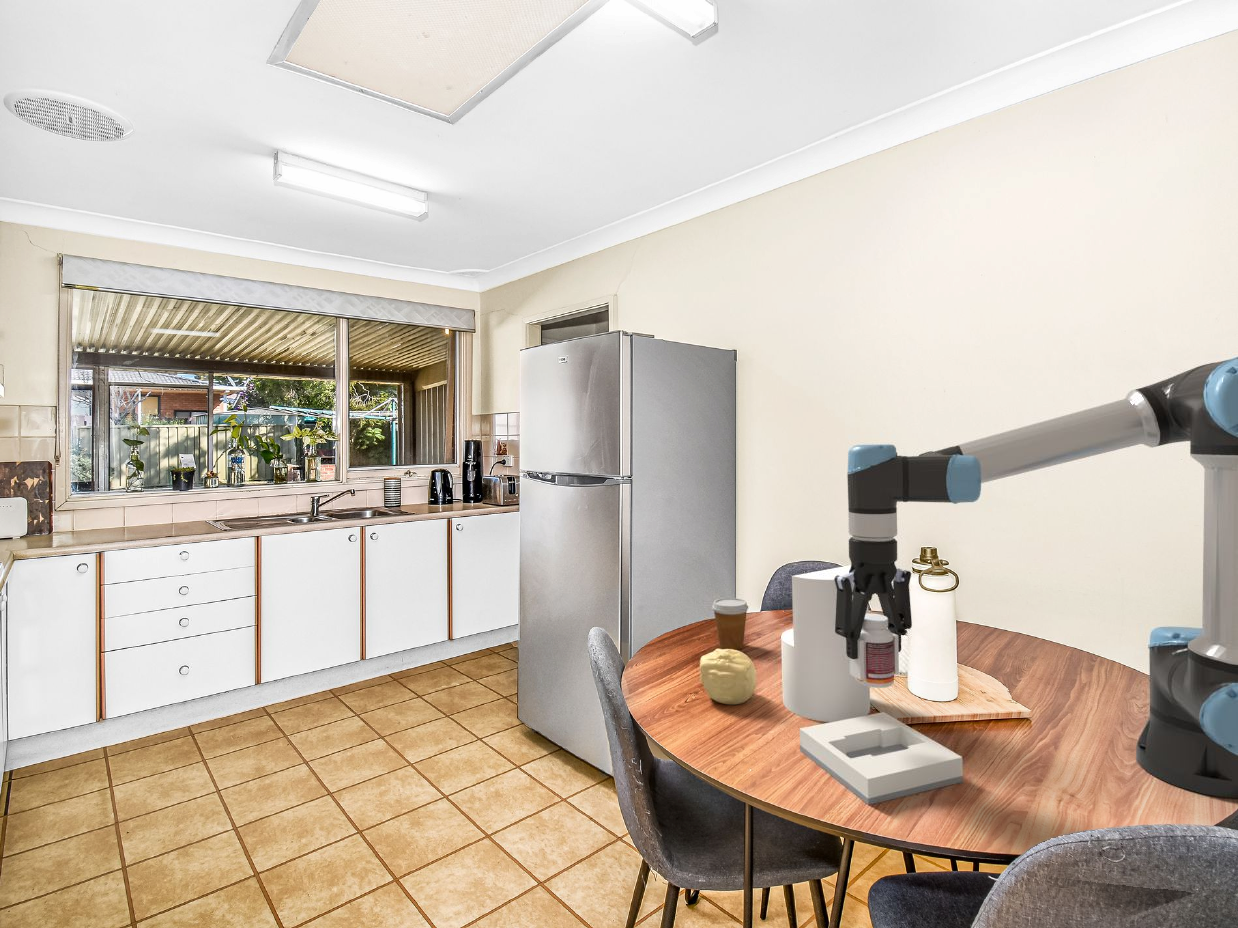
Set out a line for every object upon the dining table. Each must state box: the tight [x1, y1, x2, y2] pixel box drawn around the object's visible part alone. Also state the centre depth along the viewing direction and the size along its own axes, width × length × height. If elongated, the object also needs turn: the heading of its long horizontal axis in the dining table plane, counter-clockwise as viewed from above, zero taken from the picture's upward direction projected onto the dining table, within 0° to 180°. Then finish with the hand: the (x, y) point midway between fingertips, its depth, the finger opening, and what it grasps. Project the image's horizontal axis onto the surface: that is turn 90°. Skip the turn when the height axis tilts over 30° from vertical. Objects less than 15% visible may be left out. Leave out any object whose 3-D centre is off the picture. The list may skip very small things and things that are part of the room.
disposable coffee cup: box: [712, 597, 749, 651], centre depth 170 cm, size 10×10×12 cm
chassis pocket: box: [799, 711, 964, 806], centre depth 107 cm, size 18×18×4 cm
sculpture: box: [699, 648, 758, 705], centre depth 137 cm, size 12×12×11 cm
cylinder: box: [780, 564, 871, 723], centre depth 132 cm, size 17×17×28 cm
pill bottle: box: [855, 612, 895, 689], centre depth 107 cm, size 6×6×11 cm
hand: (874, 673), depth 107 cm, fingers closed on pill bottle, 6 cm apart
